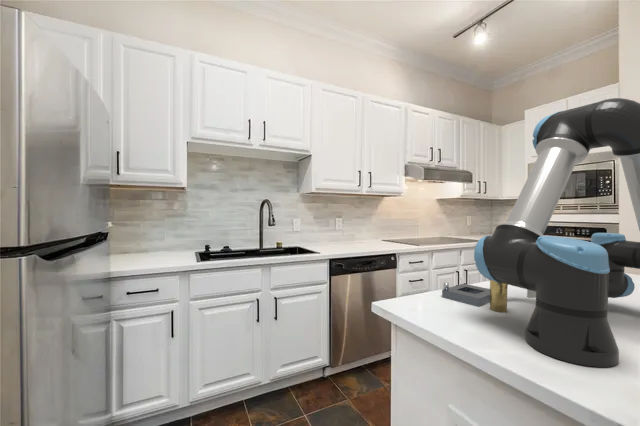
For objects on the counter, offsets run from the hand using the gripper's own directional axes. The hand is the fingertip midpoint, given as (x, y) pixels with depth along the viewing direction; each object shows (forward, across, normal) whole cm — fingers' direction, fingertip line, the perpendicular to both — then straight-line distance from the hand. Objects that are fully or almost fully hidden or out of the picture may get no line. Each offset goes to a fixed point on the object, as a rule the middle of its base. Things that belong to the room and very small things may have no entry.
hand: (510, 285), depth 88 cm
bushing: (+4, 0, -7) cm, 8 cm away
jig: (+5, +11, -7) cm, 14 cm away
